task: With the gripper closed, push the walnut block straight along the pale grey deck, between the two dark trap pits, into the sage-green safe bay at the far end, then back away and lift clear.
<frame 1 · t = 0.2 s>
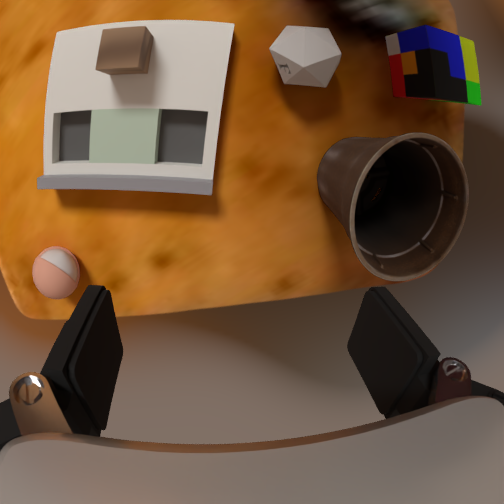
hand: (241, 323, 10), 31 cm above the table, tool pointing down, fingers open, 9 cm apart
block: (131, 55, 27), point 2 cm above the table, touching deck
toy ball: (66, 260, 40), on the table
plant pot: (352, 176, 41), on the table
puzzle toy: (413, 69, 34), on the table
die: (297, 60, 32), on the table
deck: (130, 101, 32), on the table
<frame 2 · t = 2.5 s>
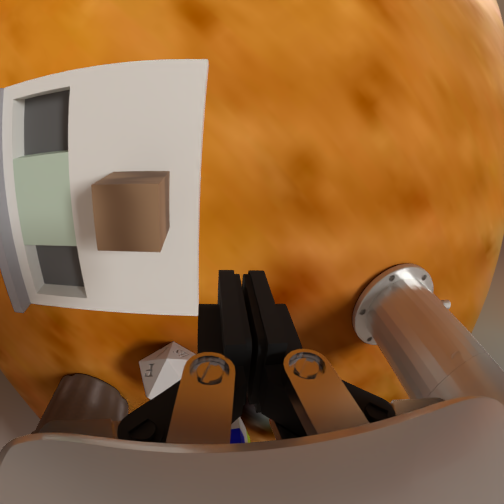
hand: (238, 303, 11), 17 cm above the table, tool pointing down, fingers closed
block: (141, 199, 24), point 2 cm above the table, touching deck
plant pot: (93, 395, 38), on the table
puzzle toy: (215, 428, 44), on the table
die: (177, 356, 35), on the table
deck: (90, 193, 25), on the table
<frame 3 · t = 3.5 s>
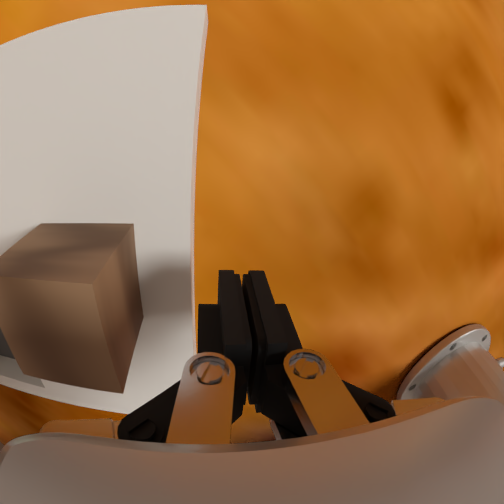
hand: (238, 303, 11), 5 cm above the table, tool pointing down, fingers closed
block: (90, 272, 13), point 2 cm above the table, touching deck
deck: (25, 247, 14), on the table
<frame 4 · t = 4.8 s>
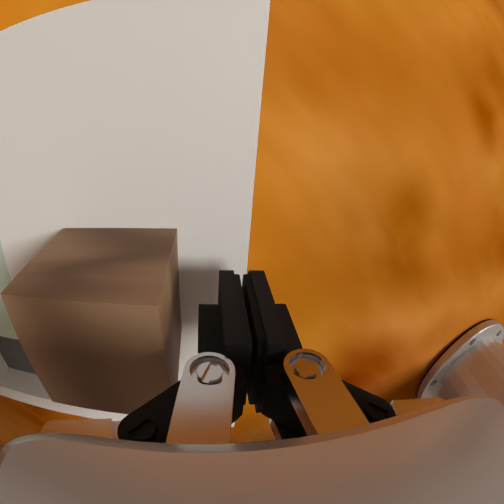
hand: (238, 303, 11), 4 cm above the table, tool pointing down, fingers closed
block: (123, 282, 12), point 3 cm above the table, touching gripper
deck: (44, 253, 13), on the table
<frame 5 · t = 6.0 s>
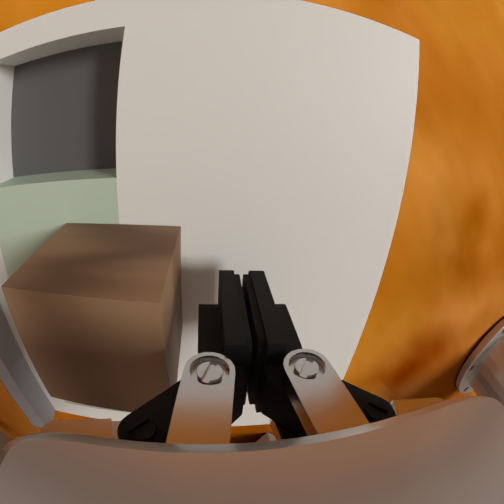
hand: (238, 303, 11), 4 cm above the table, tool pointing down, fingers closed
block: (124, 278, 12), point 3 cm above the table, touching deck, gripper
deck: (156, 255, 14), on the table
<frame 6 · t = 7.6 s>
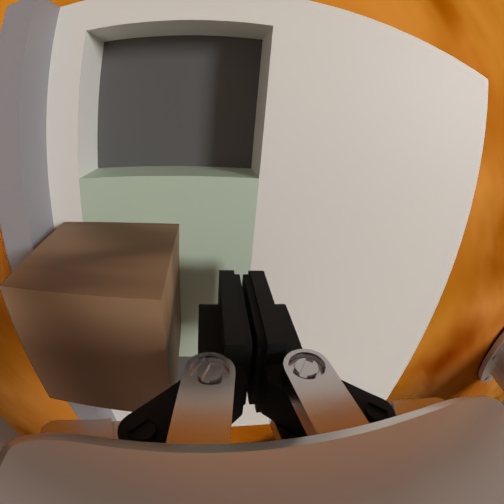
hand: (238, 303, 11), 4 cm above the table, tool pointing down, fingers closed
block: (123, 277, 12), point 3 cm above the table, touching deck, gripper
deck: (262, 256, 15), on the table
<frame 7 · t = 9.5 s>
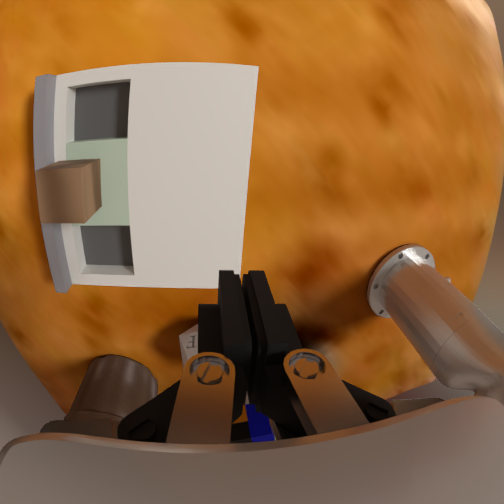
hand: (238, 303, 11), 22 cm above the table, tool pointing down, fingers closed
block: (79, 183, 26), point 2 cm above the table, touching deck
plant pot: (122, 376, 42), on the table
puzzle toy: (239, 404, 49), on the table
die: (211, 331, 40), on the table
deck: (142, 177, 29), on the table
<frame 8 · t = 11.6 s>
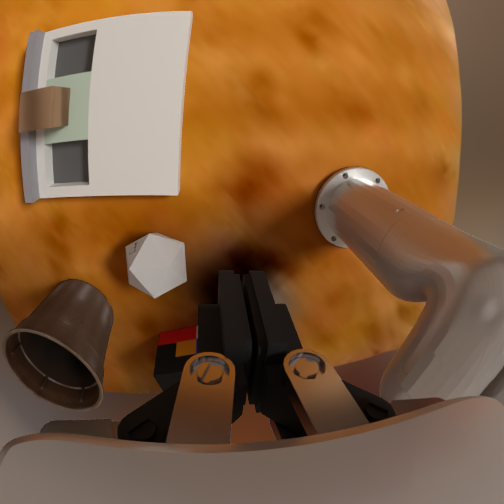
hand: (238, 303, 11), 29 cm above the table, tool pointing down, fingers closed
block: (53, 108, 27), point 2 cm above the table, touching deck
plant pot: (82, 306, 44), on the table
puzzle toy: (196, 346, 50), on the table
die: (159, 250, 41), on the table
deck: (102, 104, 31), on the table
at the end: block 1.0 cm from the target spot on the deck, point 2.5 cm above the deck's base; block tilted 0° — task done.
